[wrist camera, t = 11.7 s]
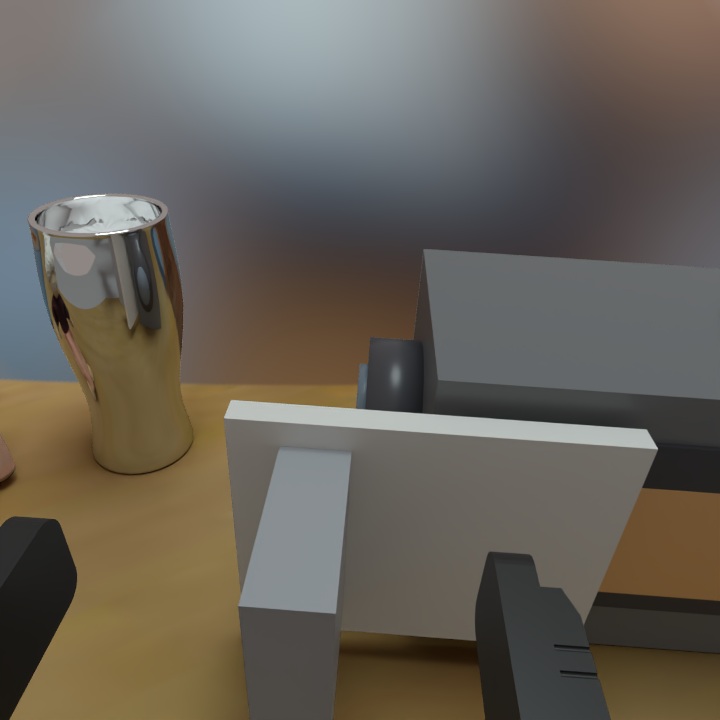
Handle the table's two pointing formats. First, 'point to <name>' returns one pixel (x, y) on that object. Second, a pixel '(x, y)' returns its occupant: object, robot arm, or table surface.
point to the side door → (405, 527)
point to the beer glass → (118, 321)
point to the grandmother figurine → (5, 461)
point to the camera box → (587, 404)
